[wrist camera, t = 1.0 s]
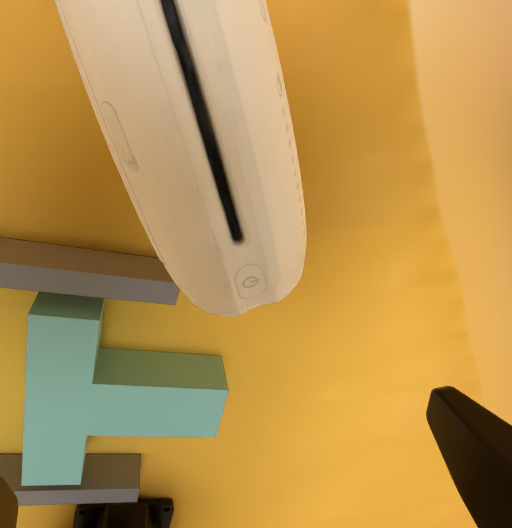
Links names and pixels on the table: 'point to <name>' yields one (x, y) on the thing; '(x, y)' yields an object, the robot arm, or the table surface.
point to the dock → (94, 285)
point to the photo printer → (199, 140)
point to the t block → (104, 390)
